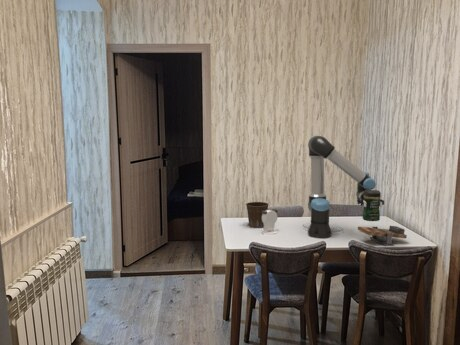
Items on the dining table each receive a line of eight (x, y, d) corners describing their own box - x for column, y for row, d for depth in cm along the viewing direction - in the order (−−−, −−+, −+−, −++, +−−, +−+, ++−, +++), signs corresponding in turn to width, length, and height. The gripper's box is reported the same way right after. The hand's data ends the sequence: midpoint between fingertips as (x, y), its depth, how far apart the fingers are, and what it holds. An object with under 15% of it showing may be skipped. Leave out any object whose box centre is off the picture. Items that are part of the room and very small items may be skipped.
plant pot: (248, 229, 268) (248, 206, 266) (243, 223, 284) (243, 202, 282) (271, 228, 271) (271, 205, 269) (264, 222, 287) (265, 201, 285)
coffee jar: (365, 221, 231) (366, 191, 229) (361, 218, 239) (361, 189, 237) (381, 221, 231) (382, 191, 229) (376, 218, 239) (377, 189, 237)
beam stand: (384, 246, 230) (385, 233, 229) (369, 238, 246) (370, 226, 245) (393, 245, 231) (394, 233, 230) (378, 238, 247) (378, 226, 246)
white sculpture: (270, 228, 270) (270, 207, 268) (281, 232, 261) (282, 210, 259) (257, 231, 262) (257, 209, 261) (268, 235, 253) (268, 212, 252)
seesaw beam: (368, 235, 229) (369, 226, 229) (357, 229, 241) (358, 221, 241) (406, 238, 235) (407, 230, 234) (394, 233, 247) (395, 225, 246)
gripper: (382, 203, 251) (391, 211, 228) (349, 203, 254) (354, 210, 231) (383, 192, 250) (392, 198, 227) (349, 191, 253) (355, 198, 231)
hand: (373, 204), depth 229 cm, fingers closed on coffee jar, 8 cm apart
